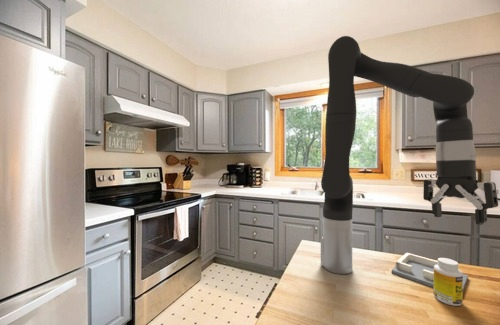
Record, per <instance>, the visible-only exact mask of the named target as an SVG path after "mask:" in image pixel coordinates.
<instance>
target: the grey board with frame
mask: <svg viewBox="0 0 500 325" xmlns="http://www.w3.org/2000/svg"><path fill="white" fill-rule="evenodd" d="M437 262H438V260H435V259H431V258H428V257H424V256H420V255H416V254H413V253H410V252H405V253H404V254H403V255H402V256H401V257H400V258H398V259H397V260H396V262H395V266H394V267H393V268H392V269H391V274H393V275H396V276H400V277H402V278H405V279H408V280H411V281H413V282H417V283H419V284H422V285H425V286H427V287H430V288H433V289H434V265H436V264H438V263H437ZM462 274H463V292H462V294H464V289H465V287H466V285H467V281H468V279H469V278H468V277H469V275H468V274H464V273H462Z"/></svg>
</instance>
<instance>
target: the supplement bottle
mask: <svg viewBox="0 0 500 325" xmlns="http://www.w3.org/2000/svg"><path fill="white" fill-rule="evenodd" d="M437 261H438V262H437V263H438V264H436V265H434V288H433V296H434V297H435V298H436V299H437V300H438V301H440V302H442V303H443V304H446V305H449V306H453V307H454V306H455V307H458V306H461V305H463V293H464V290H463V274H464V273H463V272H462V271H461V270H460V269H459V263H458V261H456V260H454V259H450V258H447V257H438V258H437ZM462 292H463V293H462Z"/></svg>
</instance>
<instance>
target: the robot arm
mask: <svg viewBox="0 0 500 325" xmlns="http://www.w3.org/2000/svg"><path fill="white" fill-rule="evenodd" d="M327 60H328V61H327V62H328V91H327V92H328V93H327V102H326V112H325V123H324V124H325V125H324V126H325V127H324V128H325V134H324V138H325V139H324V144H325V146H324V147H325V149H324V150H325V157H324V162H323V163H324V165H323V170H322V175H321V182H320V185H321V190H322V191H323V193H324V202H323V203H324V204H323V208H322V237H320V265H321V266H322V267H323V268H324V269H325V270H327V271H329V272H331V273H334V274H337V275H347V274H351V273H352V272H353V264H354V263H353V209H354V208H353V206H354V185H353V184H354V182H353V179H352V176H351V175H350V174H351V173H350V155H351V151H352V148H353V147H352V146H353V142H354V137H355V132H356V127H357V126H356V125H357V124H356V123H357V122H356V121H357V100H356V93H355V84H354V82H355V80H354V79H355V78H361V79H364V80H368V81H371V82H374V83H376V84H379V85H381V86H384V87H387V88H388V89H391V90H393V91H395V92H399V93H401V94H403V95H406V96H409V97H412V98H422V99H426V100H428V101H431V102H432V108H433V116H434V120H435V126H436V128H435V136H436V138H435V140H436V141H435V142H436V146H435V165H436V167H435V168H436V169H435V170H436V178H437V179H436V180H435V179H434V180H433V179H423V193H422V194H423V198H422V199H423V200H424V201H428V202H430V203H431V212H432V215H434V216H433V217H434V218H441V217H442V216H443V215H442V214H443V213H442V210H443V209H442V203H441V202H443V200H444V199H445V198H456V199H457V198H458V199H464V198H465V199H466V200H467V201H468V202H470V203H471V204H472V205H473V206H474V207H475V209H474V214H475V216H474V217H475V225H478V226H481V225H484V224H485V223H487V222H488V211H487V210H488V209H494V208H497V207H498V206H499V201H498V199H499V198H498V194H497V185H496V182H493V181H487V182H479V181H478V180H477V165H476V164H477V163H476V161H477V160H476V159H477V154H476V147H475V144H474V132H473V130H474V129H473V123H472V121H471V119H469V118H468V107H467V106H468V103H469V102H470V101H471V100H472V99H473V97H474V95H475V88H474V86H473V85H472V84H471V83H470V82H469V81H467V80H465V79H463V78H459V77H456V76H452V75H445V74H439V73H434V72H433V73H432V72H429V71H426V70H423V69H420V68H418V67H414V66H412V65H409V64H404V63H400V62H389V61H388V62H387V61H381V60H378V59H374V58H371V57H370V56H368V55H367V54H365V53H363V52H362V51H361V48H360V46H359V43H358V42H357V40H356V39H355V38H354V37H352V36H349V35H342V36H341V37H338V38H336V40H334V42H333V43H332V44H331V46H330V48H329V51H328V54H327ZM435 187H437V188H438V190H437V192H436V193H435V194H434V188H435ZM478 188H480V190H481V191H482V192H483V193H484V199H485V201H484V200H483V199H482V197H481V196H480V195H479V194H478V193H477V192H476V191H477V189H478Z"/></svg>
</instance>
